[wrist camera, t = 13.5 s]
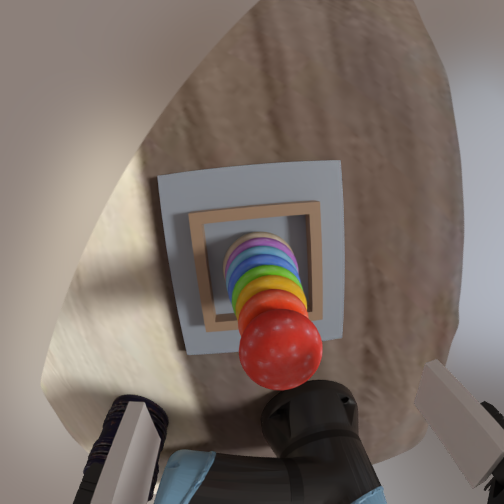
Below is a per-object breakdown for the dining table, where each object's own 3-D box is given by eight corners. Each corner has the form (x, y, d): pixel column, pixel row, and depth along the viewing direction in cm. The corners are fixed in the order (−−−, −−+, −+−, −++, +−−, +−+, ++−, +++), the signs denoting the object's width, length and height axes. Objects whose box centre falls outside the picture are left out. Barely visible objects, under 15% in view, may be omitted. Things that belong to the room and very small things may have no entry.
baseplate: (339, 333, 37) (347, 345, 34) (188, 349, 36) (185, 363, 33) (337, 160, 31) (346, 159, 28) (160, 176, 31) (152, 176, 28)
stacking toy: (208, 267, 32) (178, 370, 14) (258, 215, 31) (289, 266, 13) (259, 311, 34) (280, 433, 16) (308, 263, 33) (381, 355, 15)
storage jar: (101, 395, 38) (68, 462, 24) (152, 390, 38) (127, 467, 23) (130, 435, 41) (109, 499, 26) (179, 432, 40) (166, 504, 26)
